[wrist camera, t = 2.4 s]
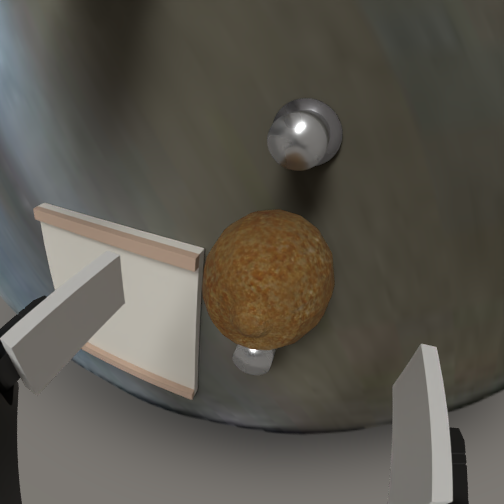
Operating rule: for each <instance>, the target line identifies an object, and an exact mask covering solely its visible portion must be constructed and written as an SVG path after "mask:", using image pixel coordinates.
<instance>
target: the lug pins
mask: <svg viewBox="0 0 504 504" xmlns="http://www.w3.org/2000/svg"><path fill="white" fill-rule="evenodd" d="M341 141H342V126H341V122H340V120H339V118H338V116H337V114H336V113H335V112H334V110H333V109H332V108H331V107H329V106H328V105H327V104H325V103H323V102H321V101H319V100H315V99H310V98H302V99H297V100H293V101H291V102H289V103H287V104H286V105H285V106H283V107H282V108H281V109H280V110H279V112H278V113H277V115H276V117H275V119H274V121H273V124H272V126H271V128H270V130H269V133H268V138H267V143H268V148H269V151H270V153H271V155H272V157H273V158H274V159H275V161H276V162H277V163H279V164H280V165H281V166H283V167H285V168H287V169H290V170H295V171H302V170H307V169H310V168H312V167H314V166H318V165H321V164H323V163H325V162H327V161H329V160H330V159H331V158H332V157H333V156H334V155H335V154H336V153H337V151H338V149H339V147H340V145H341ZM276 349H277V348H276ZM276 349H272V350H253V349H250V348H247V347H244V346H241V345H237V348H236V350H235V352H234V354H233V362H234V364H235V365H236V366H237V367H238V368H239V369H240V370H241V371H243V372H245V373H248V374H251V375H262V374H265V373H267V372H268V371H269V369H270V367H271V364H272V361H273V358H274V355H275V352H276Z"/></svg>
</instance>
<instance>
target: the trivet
mask: <svg viewBox="0 0 504 504" xmlns="http://www.w3.org/2000/svg"><path fill="white" fill-rule="evenodd" d="M34 216H35V219H36V220H39V221H41V227H42V233H43V238H44V243H45V248H46V253H47V258H48V263H49V267H50V271H51V276H52V280H53V284H54V287H55V290H57V289H58V288H59V287H60V286H62V285H63V284H64V283H65V282H67V281H68V280H69V279H70V278H72V277H73V276H74V275H75V274H77V273H78V272H79V271H81V270H82V269H83V268H85V267H86V266H87V265H88V264H90V263H91V262H92V261H94V260H95V259H96V258H98V257H99V256H100V255H102V254H103V253H104V252H106V251H110V252H113V253H116V254H119V255H120V260H121V271H122V281H123V290H124V298H125V304H124V305H123V306H122V307H121V308H120V309H119V310H118V311H117V312H116V313H115V314H114V315H113V316H112V317H111V318H110V319H109V320H108V321H107V322H106V323H105V324H104V325H103V326H102V327H101V328H100V329H99V330H98V331H97V332H96V333H95V334H94V335H93V336H92V337H91V338H90V340H89V341H88V342H87V343H86V344H85V345H84V346H83V347H82V348H81V349H83V350H85V351H86V352H88V353H90V354H92V355H94V356H96V357H98V358H100V359H102V360H103V361H105V362H107V363H109V364H111V365H113V366H115V367H117V368H119V369H121V370H124V371H126V372H128V373H130V374H132V375H134V376H136V377H138V378H141V379H143V380H145V381H147V382H150V383H152V384H154V385H156V386H159V387H161V388H164V389H166V390H168V391H171V392H173V393H176V394H178V395H181V396H183V397H186V398H188V399H191V400H192V399H193V397H194V395H195V393H196V391H197V389H198V357H199V332H200V312H201V294H202V278H203V263H204V249H205V248H201V247H198V246H194V245H191V244H187V243H183V242H180V241H176V240H173V239H169V238H166V237H162V236H159V235H155V234H151V233H148V232H144V231H141V230H137V229H134V228H130V227H127V226H123V225H120V224H116V223H113V222H109V221H106V220H102V219H99V218H95V217H92V216H88V215H85V214H82V213H78V212H75V211H71V210H68V209H64V208H61V207H57V206H54V205H51V204H47V203H43V204H41V205H39V206H37V207H36V208H34Z"/></svg>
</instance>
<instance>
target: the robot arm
mask: <svg viewBox="0 0 504 504" xmlns="http://www.w3.org/2000/svg"><path fill="white" fill-rule="evenodd" d="M124 304H125V298H124V290H123V281H122V271H121V260H120V255H119V254H116V253H113V252H110V251H106V252H104V253H103V254H102V255H100V256H99V257H98V258H96V259H95V260H94V261H92V262H91V263H90V264H88V265H87V266H86V267H85V268H83V269H82V270H81V271H79V272H78V273H77V274H75V275H74V276H73V277H72V278H70V279H69V280H68V281H67V282H65V283H64V284H63V285H62V286H60V287H59V288H58V289H57V290H55V291H54V292H53V293H52V294H50V295H49V296H48V297H46V296H42V297H40V298H38V299H36V300H34V301H32V302H31V303H30V304H29V305H28V306H26V307H25V309H23V310H22V311H20V312H19V314H18V315H16V316H14V317H13V318H12V319H11V320H10V321H9V322H8V323H6V324H5V325H4V326H3V327H2V328H1V329H0V504H22V501H21V493H20V485H19V474H18V473H19V472H18V457H17V456H18V455H17V407H18V389H19V387H18V382H17V381H18V379H19V378H21V379H22V381H23V383H24V385H25V386H26V387H27V388H28V389H29V390H31V391H32V392H33V393H35V394H36V395H37V396H38V395H39V394H40V393H41V392H42V391H43V389H44V388H45V387H46V386H47V385H48V384H49V383H50V382H51V381H52V379H53V378H54V377H55V376H56V375H57V374H58V373H59V372H60V371H61V370H62V368H63V367H64V366H65V365H66V364H67V363H68V362H69V361H70V360H71V359H72V358H73V357H74V355H75V354H76V353H77V352H78V351H79V350H80V349H81V348H82V347H83V346H84V345H85V344H86V343H87V342H88V341H89V340H90V338H91V337H92V336H93V335H94V334H95V333H96V332H97V331H98V330H99V329H100V328H101V327H102V326H103V325H104V324H105V323H106V322H107V321H108V320H109V319H110V318H111V317H112V316H113V315H114V314H115V313H116V312H117V311H118V310H119V309H120V308H121V307H122V306H123V305H124ZM392 387H393V427H392V454H391V469H390V482H389V493H388V502H387V504H469V503H468V482H467V466H466V455H465V442H464V439H463V436H462V434H461V432H460V430H459V428H449V423H448V413H447V405H446V398H445V391H444V385H443V379H442V373H441V368H440V362H439V357H438V352H437V347H434V346H429V345H425V344H420V346H419V347H418V349H417V351H416V352H415V354H414V355H413V357H412V358H411V360H410V361H409V363H408V364H407V366H406V367H405V369H404V370H403V372H402V373H401V375H400V376H399V378H398V379H397V380H396V382H395V383H394V385H393V386H392Z"/></svg>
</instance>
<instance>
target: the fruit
mask: <svg viewBox="0 0 504 504" xmlns="http://www.w3.org/2000/svg"><path fill="white" fill-rule="evenodd" d="M334 285H335V284H334V269H333V258H332V253H331V251H330V249H329V247H328V245H327V243H326V242H325V240H324V238H323V237H322V235H321V233H320V231H319V230H318V229H317V228H316V227H315V226H314V225H312V224H311V223H310V222H308V221H307V220H306V219H304V218H303V217H302V216H300V215H297V214H294V213H290V212H287V211H283V210H280V209H276V210H265V211H257V212H253V213H250V214H248V215H247V216H245V217H243V218H241V219H239V220H238V221H236V222H234V223H232V224H231V225H230V226H229V227H227V228H226V229H225V230H224V231H223V233H222V234H221V236H220V237H219V239H218V240H217V242H216V243H215V245H214V246H213V247H212V249H211V251H210V252H209V254H208V256H207V258H206V262H205V266H204V274H203V283H202V293H203V299H204V302H205V305H206V308H207V311H208V314H209V316H210V318H211V320H212V322H213V323H214V324H215V326H216V327H217V328H218V329H219V331H220V332H221V333H222V334H223V335H224V336H226V337H227V338H229V339H230V340H231V341H233V342H234V343H236V344H238V345H241V346H244V347H247V348H250V349H253V350H272V349H276V348H280V347H283V346H286V345H290V344H293V343H295V342H296V341H298V340H299V339H300V338H302V337H303V336H304V335H305V334H307V333H308V332H309V331H310V330H311V329H312V328H314V327H315V326H316V325H317V324H318V323H319V321H320V320H321V318H322V317H323V315H324V313H325V310H326V308H327V306H328V303H329V301H330V299H331V296H332V293H333V289H334Z"/></svg>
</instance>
